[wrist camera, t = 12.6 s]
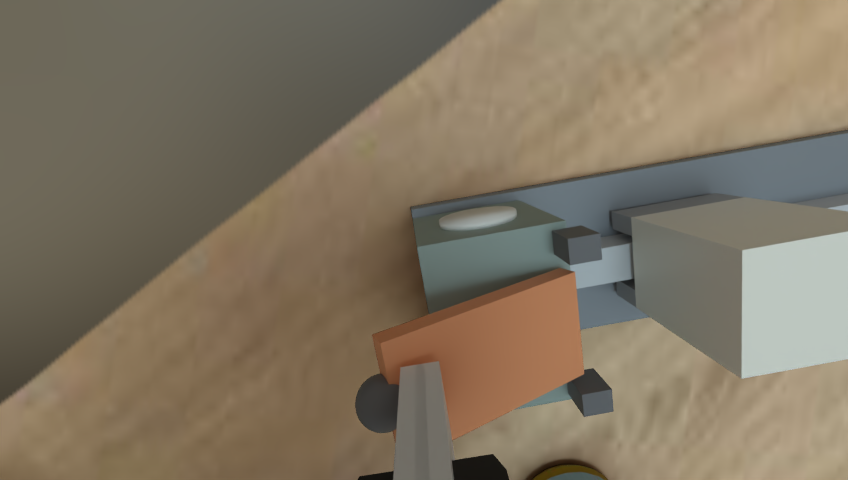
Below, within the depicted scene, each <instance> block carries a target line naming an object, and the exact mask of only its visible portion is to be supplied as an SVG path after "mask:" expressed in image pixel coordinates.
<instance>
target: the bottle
mask: <svg viewBox="0 0 848 480" xmlns="http://www.w3.org/2000/svg"><path fill="white" fill-rule="evenodd" d="M533 480H607V478H606V477H605V476H603V475H602V474H600V473H599V472H597V471H596V470H594V469H591V468H588V467H584V466H579V465H558V466H555V467H552V468H548V469H546V470H545V471H543V472H542V473H540V474H538V475H537V476H535V477H534V479H533Z"/></svg>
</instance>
